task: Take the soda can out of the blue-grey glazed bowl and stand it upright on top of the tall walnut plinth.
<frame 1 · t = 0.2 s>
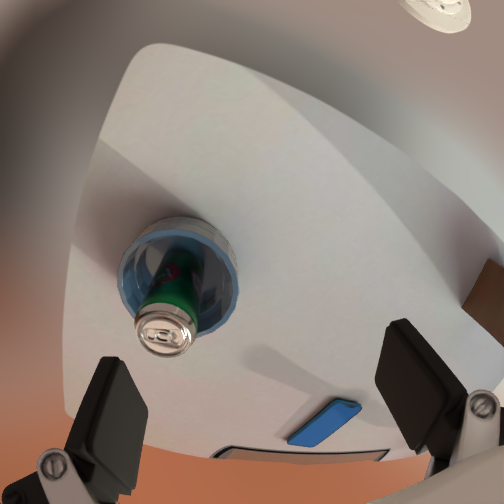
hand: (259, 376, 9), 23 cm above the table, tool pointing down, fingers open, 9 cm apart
smartphone: (322, 423, 46), on the table
bowl: (182, 268, 32), on the table
soda can: (182, 269, 32), resting on bowl
plinth: (486, 290, 39), on the table
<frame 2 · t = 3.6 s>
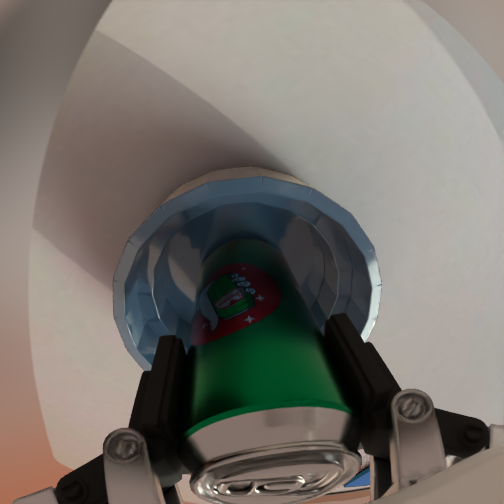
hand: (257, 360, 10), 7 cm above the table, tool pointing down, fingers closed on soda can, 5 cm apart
smartphone: (388, 460, 31), on the table
bowl: (243, 273, 17), on the table
soda can: (244, 275, 17), resting on bowl, touching gripper
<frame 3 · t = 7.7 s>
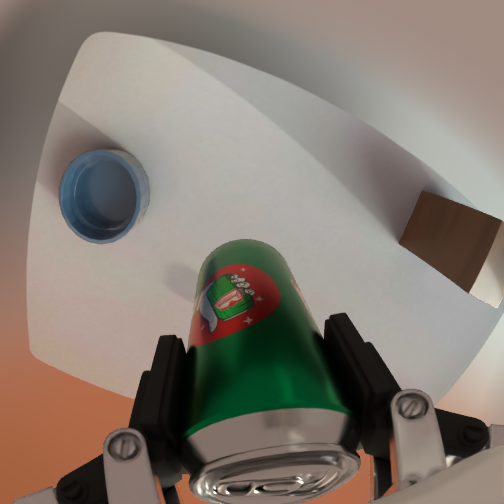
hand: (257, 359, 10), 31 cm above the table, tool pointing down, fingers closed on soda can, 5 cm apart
bowl: (110, 191, 37), on the table
soda can: (243, 276, 17), point 24 cm above the table, touching gripper
plinth: (429, 227, 43), on the table
when the fingers open (25 cm above the table, at t = 12.0 s): soda can stays where it is, resting on plinth.
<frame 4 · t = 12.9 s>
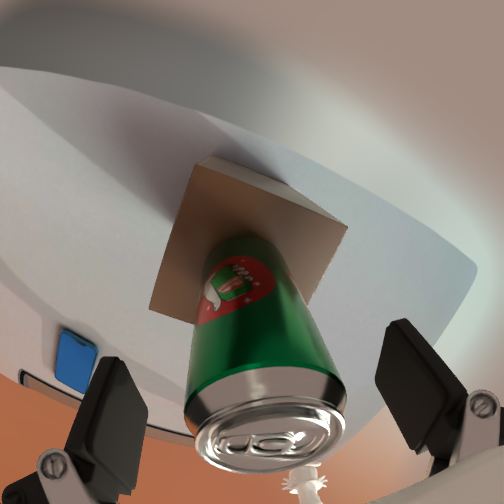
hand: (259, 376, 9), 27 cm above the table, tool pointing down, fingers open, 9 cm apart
smartphone: (75, 362, 42), on the table
soda can: (244, 270, 18), point 18 cm above the table, touching plinth
plinth: (235, 208, 35), on the table
figurine: (295, 441, 54), on the table
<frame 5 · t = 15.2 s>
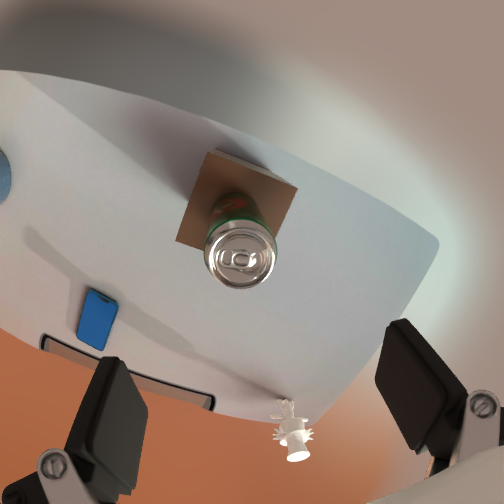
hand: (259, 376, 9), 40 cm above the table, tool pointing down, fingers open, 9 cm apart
smartphone: (96, 320, 54), on the table
soda can: (235, 214, 30), point 18 cm above the table, touching plinth
plinth: (231, 188, 47), on the table
figurine: (285, 398, 67), on the table
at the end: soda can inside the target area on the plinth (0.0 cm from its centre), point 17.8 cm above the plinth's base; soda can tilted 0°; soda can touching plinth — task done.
